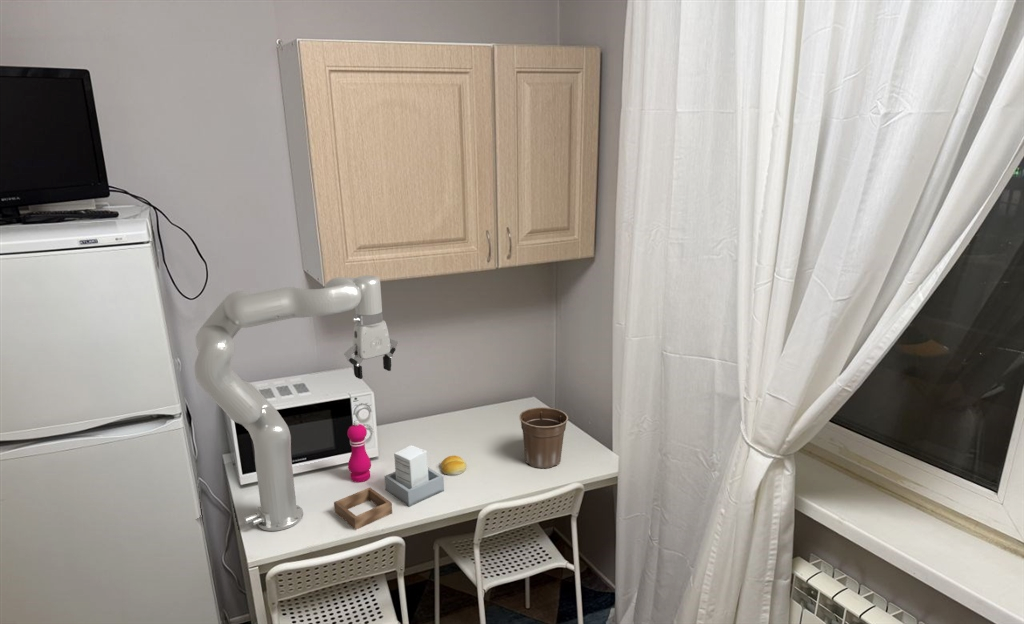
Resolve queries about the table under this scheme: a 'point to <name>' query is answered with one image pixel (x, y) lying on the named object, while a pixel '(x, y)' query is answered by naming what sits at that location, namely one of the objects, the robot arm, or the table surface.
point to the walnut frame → (366, 517)
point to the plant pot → (543, 435)
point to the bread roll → (453, 465)
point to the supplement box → (411, 466)
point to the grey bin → (415, 488)
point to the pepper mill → (358, 453)
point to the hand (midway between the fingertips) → (373, 373)
